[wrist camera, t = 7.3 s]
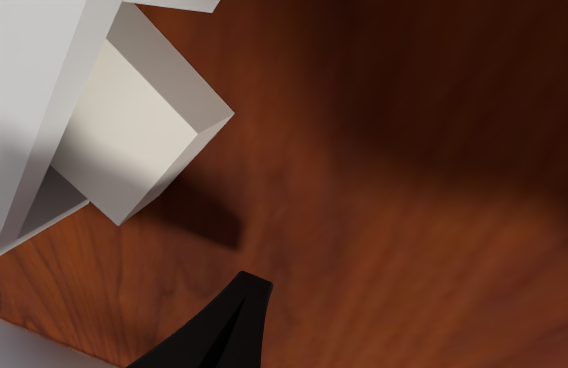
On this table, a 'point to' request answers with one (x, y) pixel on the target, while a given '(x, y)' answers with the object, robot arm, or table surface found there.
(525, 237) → the table surface
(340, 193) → the table surface
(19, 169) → the slotted white box
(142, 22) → the cream rectangular beam
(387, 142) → the table surface
